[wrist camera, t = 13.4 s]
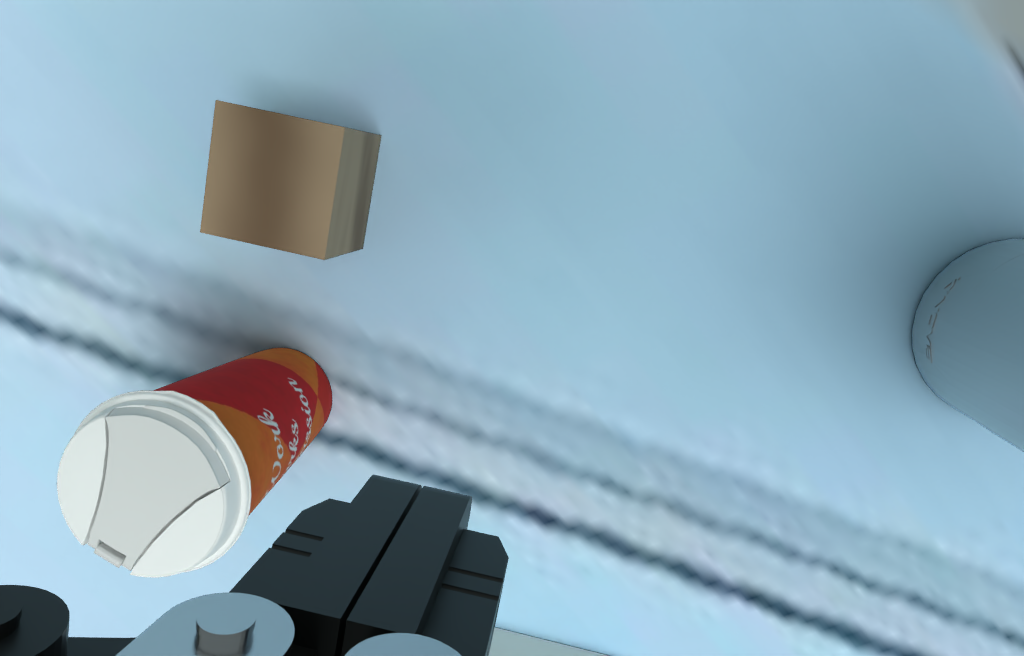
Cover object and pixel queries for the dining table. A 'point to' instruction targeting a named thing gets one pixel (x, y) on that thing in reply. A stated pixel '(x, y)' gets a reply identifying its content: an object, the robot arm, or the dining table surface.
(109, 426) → the paper cup
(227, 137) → the walnut block
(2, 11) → the dining table surface
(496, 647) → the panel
